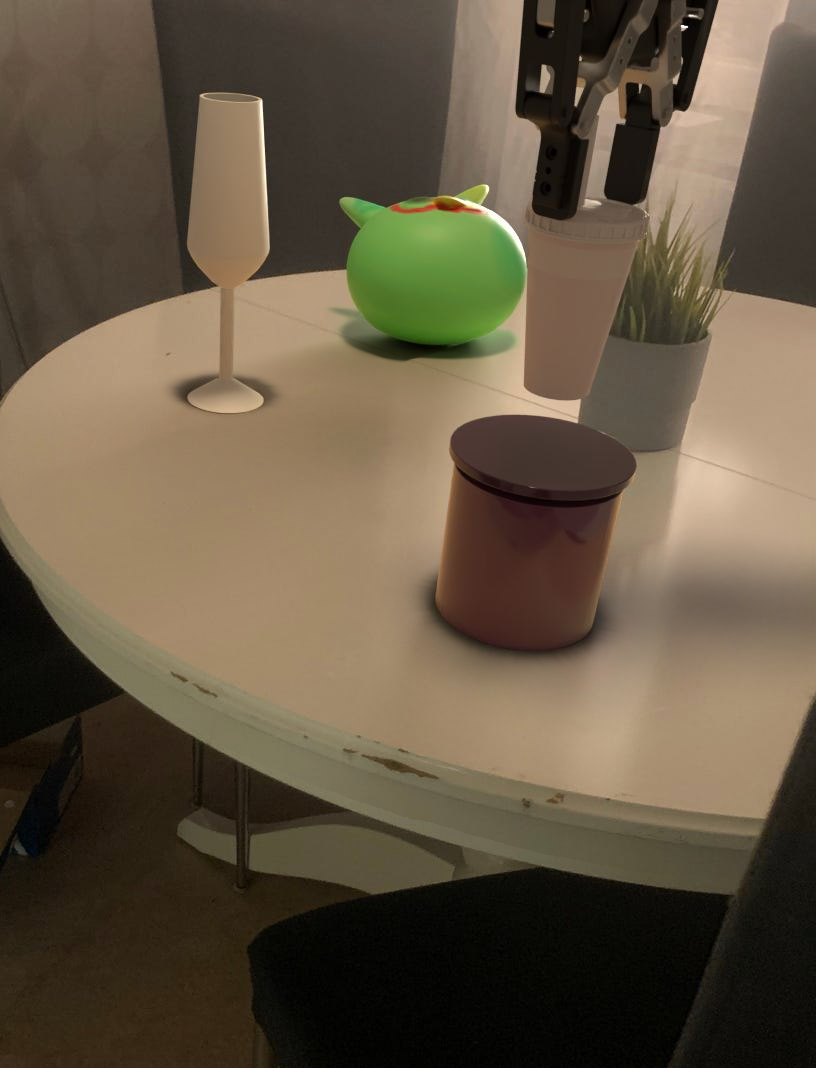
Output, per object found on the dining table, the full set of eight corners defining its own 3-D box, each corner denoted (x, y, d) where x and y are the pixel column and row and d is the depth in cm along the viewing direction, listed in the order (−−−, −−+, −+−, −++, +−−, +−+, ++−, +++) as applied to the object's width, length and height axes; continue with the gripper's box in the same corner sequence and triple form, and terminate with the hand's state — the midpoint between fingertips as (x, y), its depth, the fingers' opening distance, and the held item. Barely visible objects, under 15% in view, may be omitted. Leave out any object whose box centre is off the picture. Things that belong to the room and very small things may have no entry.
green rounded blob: (363, 368, 107) (377, 207, 99) (323, 313, 120) (333, 168, 112) (537, 365, 111) (565, 211, 103) (480, 312, 125) (500, 172, 116)
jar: (494, 554, 77) (520, 401, 71) (630, 618, 71) (671, 456, 65) (393, 608, 70) (412, 443, 64) (534, 683, 64) (570, 509, 58)
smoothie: (524, 359, 66) (565, 101, 59) (629, 384, 64) (686, 118, 56) (481, 391, 62) (519, 114, 54) (592, 419, 59) (649, 133, 51)
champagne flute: (240, 380, 102) (247, 90, 89) (278, 406, 97) (291, 104, 84) (173, 391, 98) (171, 91, 85) (209, 418, 94) (212, 105, 81)
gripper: (657, -217, 42) (574, 245, 51) (814, -177, 51) (720, 208, 60) (495, -216, 46) (445, 210, 55) (668, -180, 55) (600, 181, 64)
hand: (589, 207), depth 57 cm, fingers closed on smoothie, 6 cm apart
